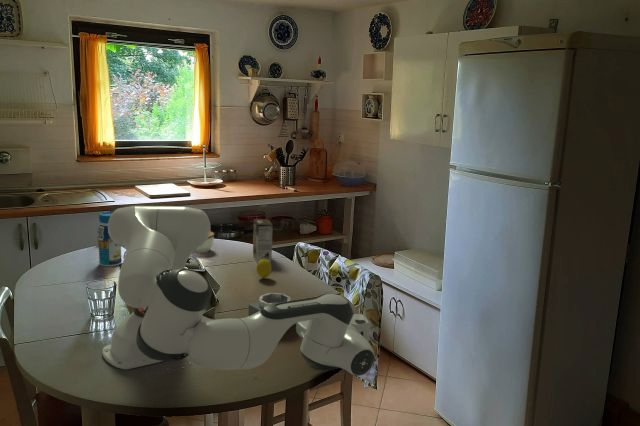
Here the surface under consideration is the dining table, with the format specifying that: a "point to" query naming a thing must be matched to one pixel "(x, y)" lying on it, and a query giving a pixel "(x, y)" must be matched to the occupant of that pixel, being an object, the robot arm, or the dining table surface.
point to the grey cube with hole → (268, 302)
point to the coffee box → (262, 239)
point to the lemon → (264, 268)
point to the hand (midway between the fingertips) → (323, 315)
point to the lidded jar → (206, 244)
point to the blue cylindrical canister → (107, 243)
